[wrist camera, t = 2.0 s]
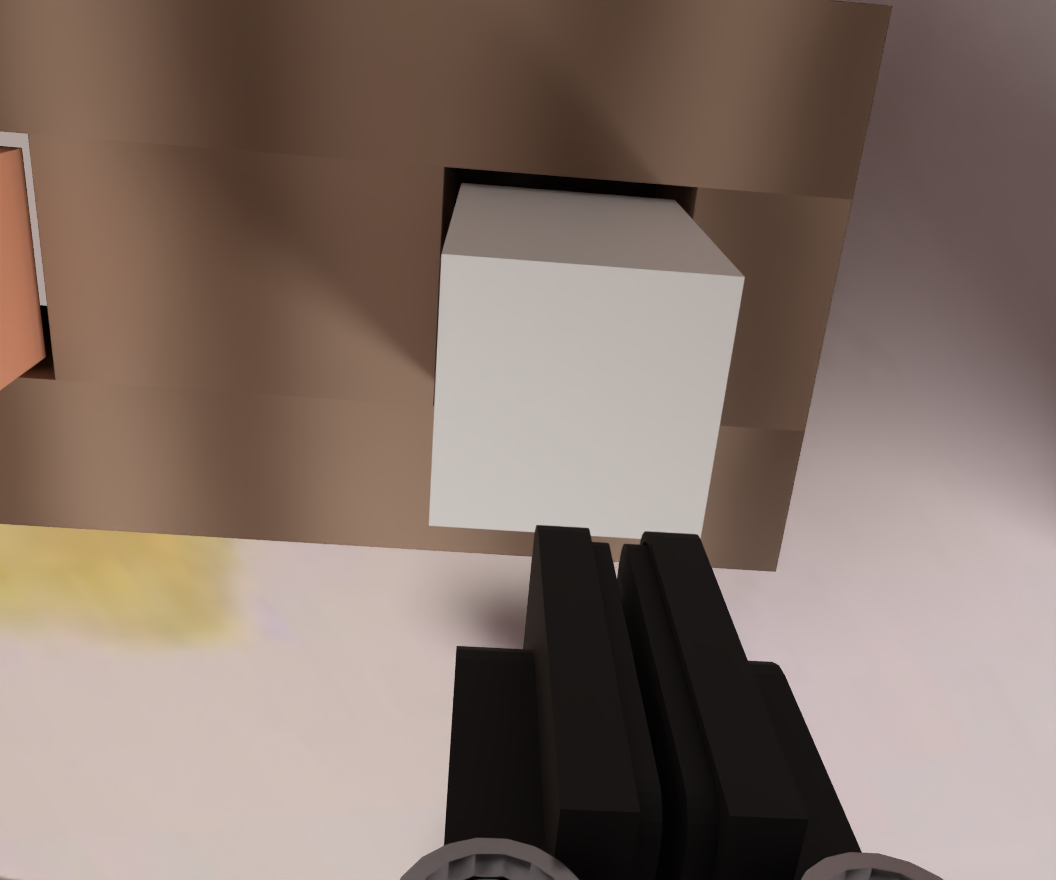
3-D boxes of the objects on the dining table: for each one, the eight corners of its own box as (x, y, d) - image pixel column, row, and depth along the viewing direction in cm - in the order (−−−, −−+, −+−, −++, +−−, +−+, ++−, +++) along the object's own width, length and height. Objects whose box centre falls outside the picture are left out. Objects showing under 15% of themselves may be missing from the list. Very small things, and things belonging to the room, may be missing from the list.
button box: (812, 8, 27) (892, 5, 21) (729, 476, 32) (775, 571, 27) (-261, -88, 25) (-475, -117, 20) (-158, 417, 31) (-303, 505, 25)
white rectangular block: (675, 199, 23) (744, 276, 16) (647, 398, 25) (699, 542, 18) (461, 182, 23) (441, 253, 16) (450, 384, 25) (428, 525, 18)
